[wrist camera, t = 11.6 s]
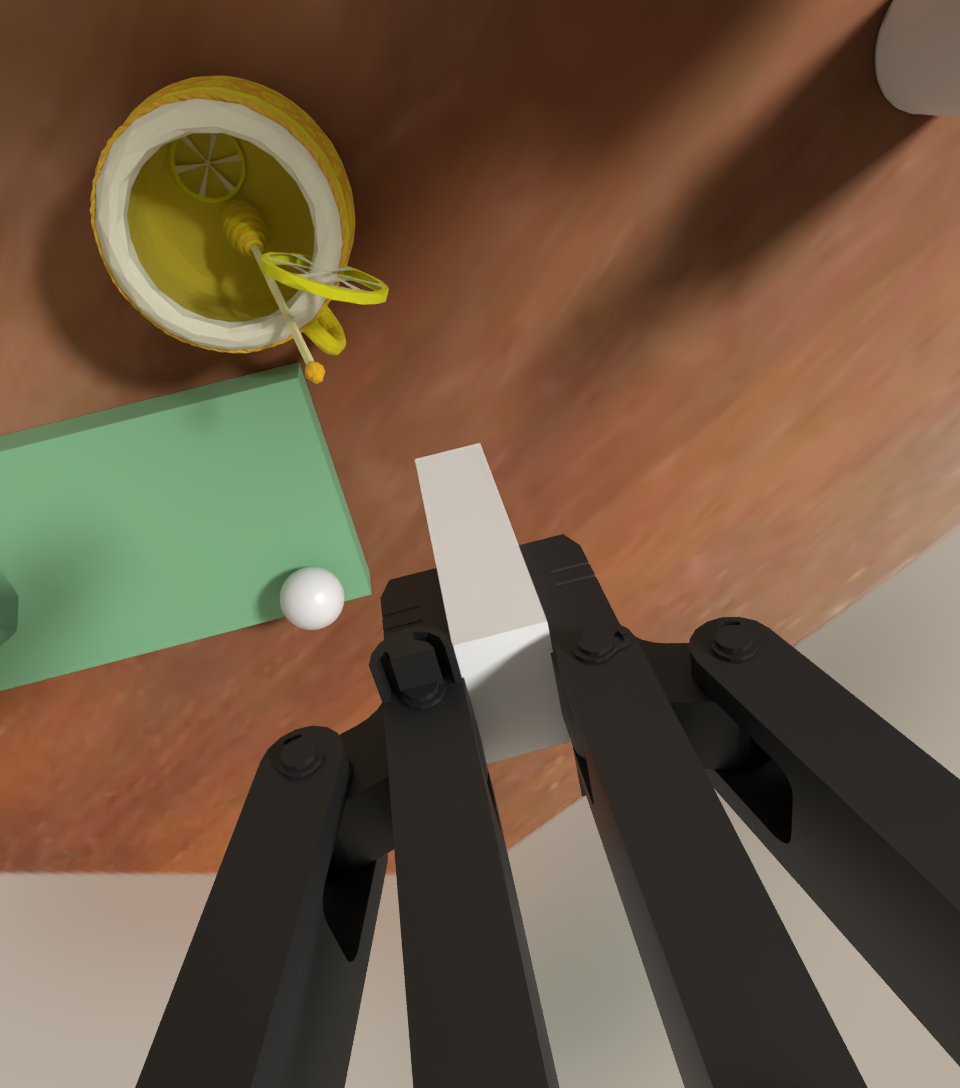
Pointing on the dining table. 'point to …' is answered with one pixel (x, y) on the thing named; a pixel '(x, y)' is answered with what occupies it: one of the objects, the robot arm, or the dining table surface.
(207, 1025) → the robot arm
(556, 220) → the dining table surface
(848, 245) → the dining table surface
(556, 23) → the dining table surface
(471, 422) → the dining table surface
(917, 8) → the bottle
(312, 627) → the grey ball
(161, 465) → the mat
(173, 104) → the mug
